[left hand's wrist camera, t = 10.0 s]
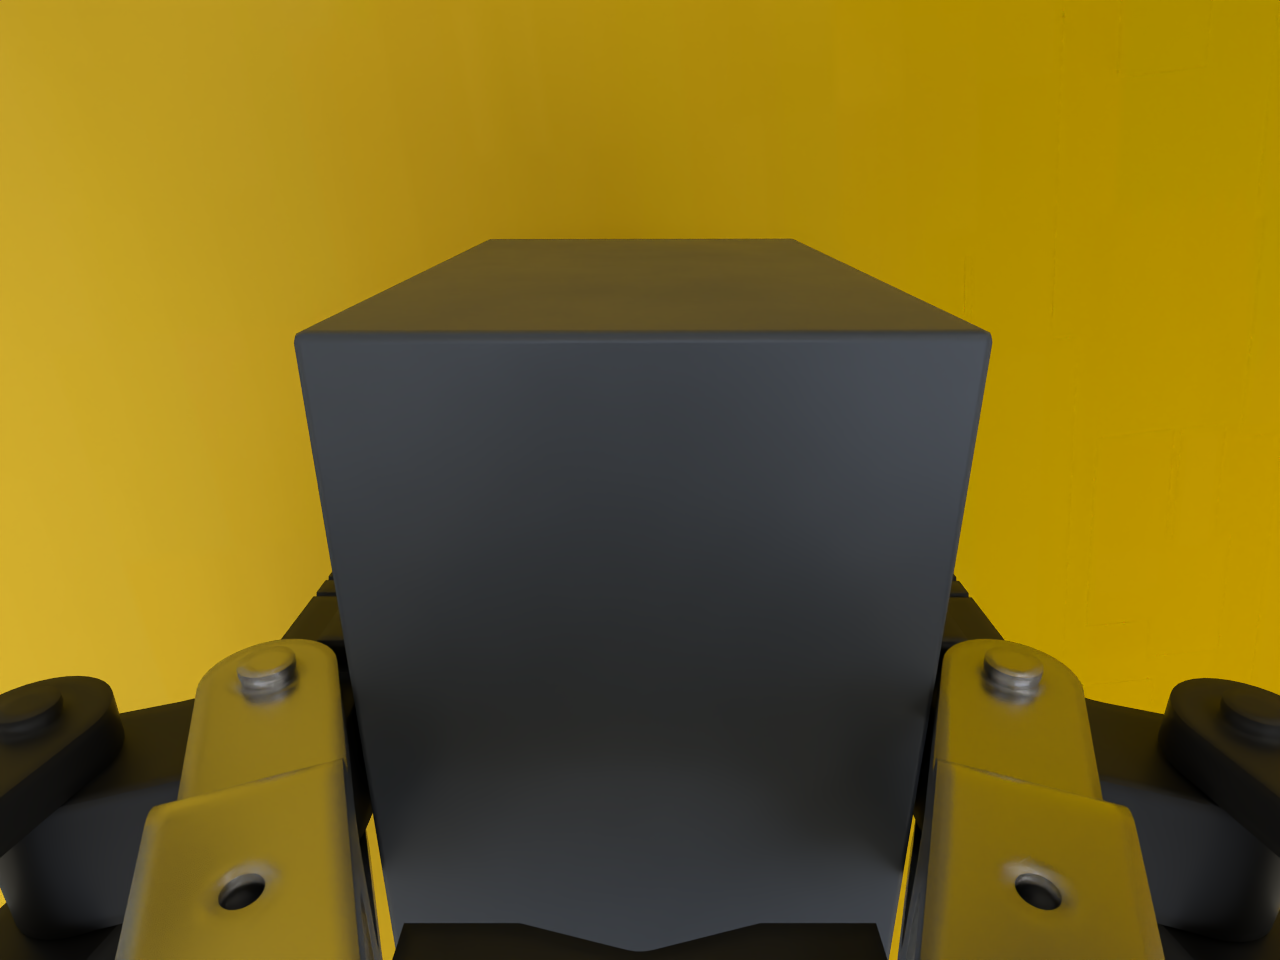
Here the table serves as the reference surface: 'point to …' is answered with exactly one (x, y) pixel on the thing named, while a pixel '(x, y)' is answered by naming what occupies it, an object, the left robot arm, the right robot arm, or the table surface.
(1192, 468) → the table surface
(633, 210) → the table surface
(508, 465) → the bar
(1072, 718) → the left robot arm
